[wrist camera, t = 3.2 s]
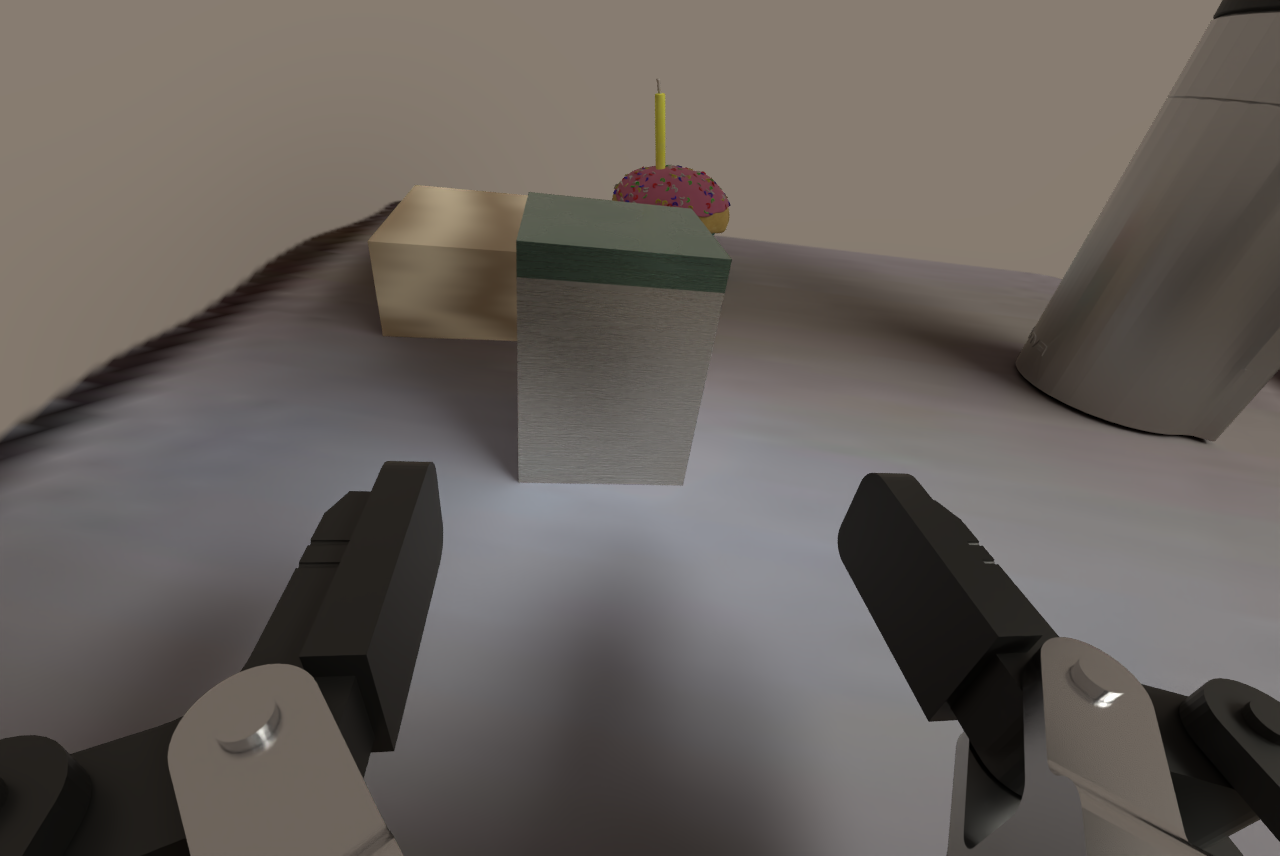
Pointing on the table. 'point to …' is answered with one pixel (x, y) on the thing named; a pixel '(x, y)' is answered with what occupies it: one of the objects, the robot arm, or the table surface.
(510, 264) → the birch box
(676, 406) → the tea tin
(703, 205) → the cupcake
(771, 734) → the table surface
